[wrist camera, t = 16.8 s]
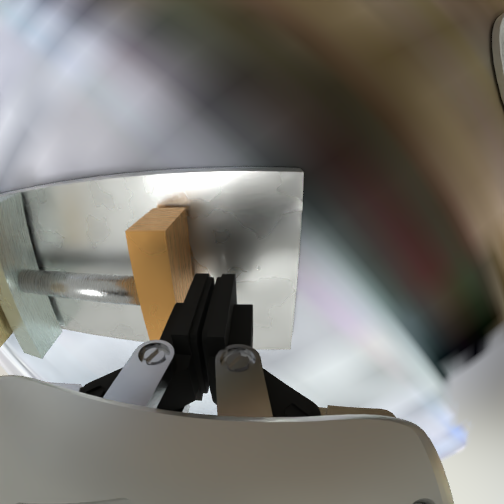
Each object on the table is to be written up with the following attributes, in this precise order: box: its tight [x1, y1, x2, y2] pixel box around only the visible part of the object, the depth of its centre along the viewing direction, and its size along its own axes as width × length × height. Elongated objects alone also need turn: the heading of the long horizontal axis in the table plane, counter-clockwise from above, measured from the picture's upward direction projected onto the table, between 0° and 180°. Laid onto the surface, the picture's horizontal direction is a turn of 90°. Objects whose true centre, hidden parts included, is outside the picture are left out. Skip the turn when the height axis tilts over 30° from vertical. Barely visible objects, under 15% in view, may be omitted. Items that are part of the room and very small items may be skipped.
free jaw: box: [0, 193, 193, 358], centre depth 12 cm, size 13×10×3 cm
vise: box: [0, 167, 304, 349], centre depth 14 cm, size 27×10×4 cm, turn 90°
